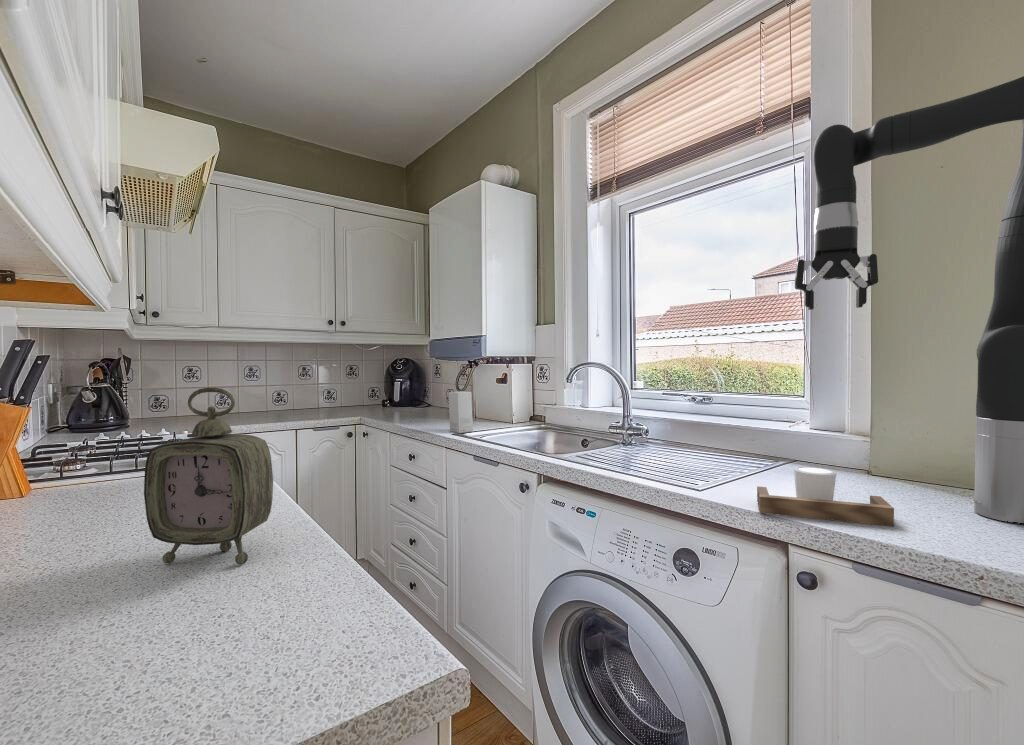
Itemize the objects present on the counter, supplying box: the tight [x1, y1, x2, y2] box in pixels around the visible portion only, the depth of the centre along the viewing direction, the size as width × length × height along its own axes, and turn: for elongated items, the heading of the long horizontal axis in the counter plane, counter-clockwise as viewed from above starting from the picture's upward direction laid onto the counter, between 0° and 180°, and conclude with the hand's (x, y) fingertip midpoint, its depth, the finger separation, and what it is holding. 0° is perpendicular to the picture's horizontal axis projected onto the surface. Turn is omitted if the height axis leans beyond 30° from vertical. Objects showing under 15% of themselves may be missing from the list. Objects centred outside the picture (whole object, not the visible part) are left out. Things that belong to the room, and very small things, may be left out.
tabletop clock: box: [143, 387, 274, 565], centre depth 73 cm, size 14×9×25 cm, turn 87°
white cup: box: [793, 466, 837, 501], centre depth 94 cm, size 7×7×7 cm
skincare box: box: [448, 390, 474, 434], centre depth 193 cm, size 8×7×16 cm
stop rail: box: [756, 485, 895, 527], centre depth 90 cm, size 20×8×3 cm, turn 67°
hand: (834, 308), depth 103 cm, fingers open, 8 cm apart
